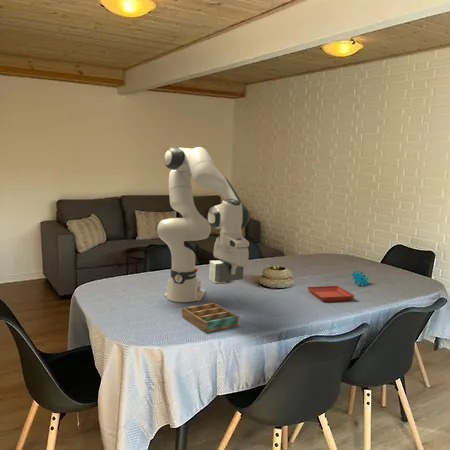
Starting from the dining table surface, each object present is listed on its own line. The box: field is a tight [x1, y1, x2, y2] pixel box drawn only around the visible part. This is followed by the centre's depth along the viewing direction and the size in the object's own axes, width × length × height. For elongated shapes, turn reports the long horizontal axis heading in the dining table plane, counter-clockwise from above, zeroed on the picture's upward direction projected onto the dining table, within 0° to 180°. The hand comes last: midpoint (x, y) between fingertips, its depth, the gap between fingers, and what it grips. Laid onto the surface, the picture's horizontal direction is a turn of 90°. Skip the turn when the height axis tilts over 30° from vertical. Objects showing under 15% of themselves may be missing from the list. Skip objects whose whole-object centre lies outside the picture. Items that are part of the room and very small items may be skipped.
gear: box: [351, 269, 370, 287], centre depth 261 cm, size 11×6×10 cm
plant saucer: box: [306, 285, 355, 303], centre depth 235 cm, size 18×18×3 cm
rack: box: [181, 302, 240, 333], centre depth 194 cm, size 16×19×4 cm
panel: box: [215, 262, 245, 284], centre depth 191 cm, size 12×3×7 cm, turn 124°
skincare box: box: [208, 259, 227, 284], centre depth 255 cm, size 10×6×10 cm, turn 22°
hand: (229, 272), depth 191 cm, fingers closed on panel, 3 cm apart
